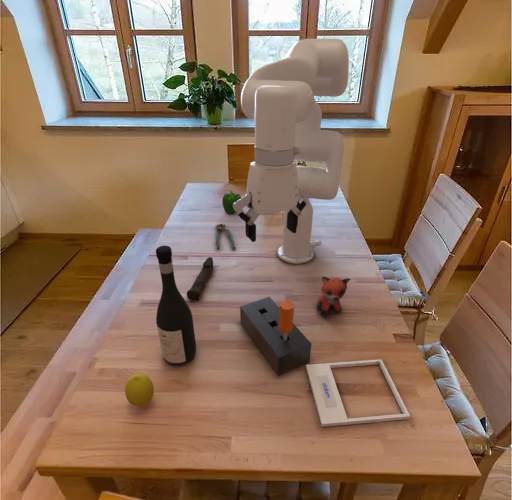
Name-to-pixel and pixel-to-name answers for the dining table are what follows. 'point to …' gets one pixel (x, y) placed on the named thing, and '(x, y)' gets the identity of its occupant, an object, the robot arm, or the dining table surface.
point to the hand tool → (201, 280)
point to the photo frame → (330, 399)
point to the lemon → (139, 389)
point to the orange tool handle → (286, 318)
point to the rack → (274, 336)
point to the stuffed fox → (331, 294)
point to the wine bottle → (173, 315)
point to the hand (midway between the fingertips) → (271, 234)
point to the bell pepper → (230, 202)
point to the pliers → (221, 228)
